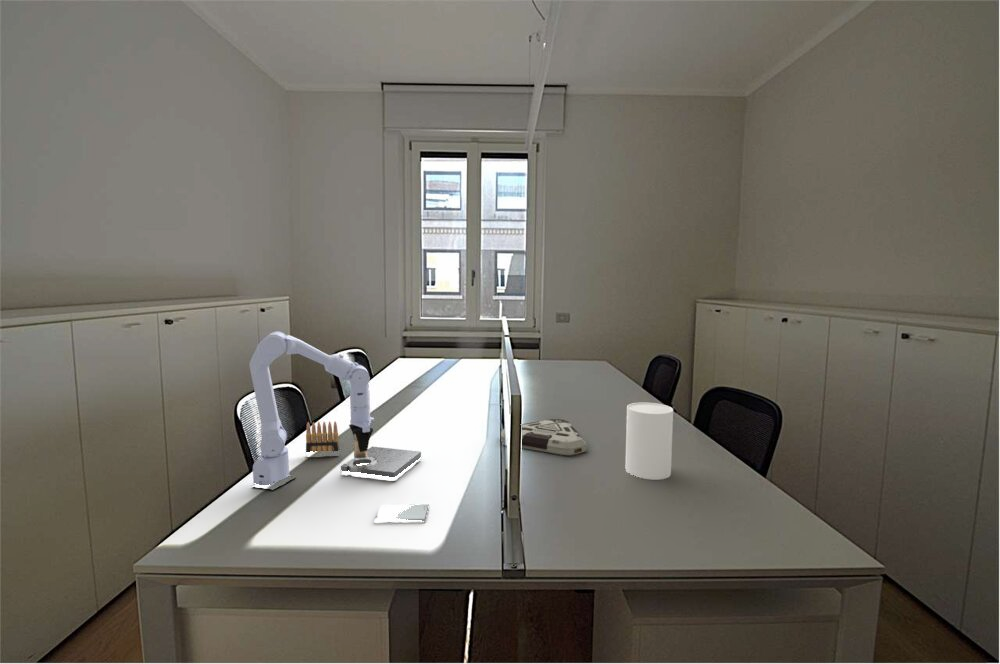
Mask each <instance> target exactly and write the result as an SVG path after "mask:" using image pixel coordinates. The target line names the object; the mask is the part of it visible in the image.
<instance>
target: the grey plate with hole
mask: <svg viewBox="0 0 1000 664" xmlns="http://www.w3.org/2000/svg"><path fill="white" fill-rule="evenodd" d="M420 457H421V458H422V452H421V451H418V450H407V449H399V448H390V447H381V446H371V447H368V455H367V457H365V458H355V457H353V458H351V459H350V460H348V461H347V462H346V463H343V464H342V465H340V471H341V470H342V471H348V470H349V471H350V472H361V473H367V474H375V475H382V476H389V477H395V476H397V475H398V474H399V473H401V472H402V471H403V470H404V469H406V468H407V467H408V466H410V465H411V464H412V463H414V462H415V461H416V460H418V459H419V458H420ZM360 463H369V464H367V465H362V466H357V465H356V464H360Z"/></svg>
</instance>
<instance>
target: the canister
mask: <svg viewBox="0 0 1000 664" xmlns="http://www.w3.org/2000/svg"><path fill="white" fill-rule="evenodd" d="M673 424H674V408H673V407H671V406H669V405H666V404H663V403H657V402H647V401H645V402H644V401H642V402H640V401H639V402H632V403H629V404H627V405H626V431H625V432H626V433H625V434H626V435H625V467H624V468H625V469H626V470H625V469H624V470H625V471H626V473H627V474H629V473H630V474H629V475H631V476H633V475H634V476H633V477H635V476H636V477H635V478H638V477H639V478H638V479H642V478H643V479H644V480H650V481H651V480H653V481H654V480H658V481H659V480H665V479H667V478H669V477H671V475H672V452H673V450H672V448H673V426H674V425H673Z"/></svg>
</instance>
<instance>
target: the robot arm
mask: <svg viewBox="0 0 1000 664" xmlns="http://www.w3.org/2000/svg"><path fill="white" fill-rule="evenodd" d="M285 352H286V356H287V355H289V356H290V355H295V354H296V355H300V356H302V357H304V358H308V359H310V360H312V361H314V362H316V363H318V364H321V365H323V366H324V370H325V372H327V373H329V374H331V375H334V376H336V377H337V378H339V379H342V380H344V381H348V382H349V384H350V390H349V391H350V392H349V401H350V403H349V404H350V408H349V409H350V422H349V424H348V427H349V428H350V430H351V432H352V435H353V437H354V434H355V435H356V438H357V441H358V446H359V450H360V452H363V451H367V449H369V443H370V439H371V436H372V434H373V433H374V428H372V427H371V423H372V422H374V421H375V417H374V416H373V417H372V416H371V400H370V399H371V398H370V385H369V383H370V380H371V377H370V374H369V371H368V370H367V368H366V367H365V366H363V365H362V364H359V363H358V362H356V361H355V362H353V361H351V360H348V359H347V358H345V356H344V354H341V353H339V354H336V353H334V354H327V353H325V352H323V351H321V350H320V349H317V348H316V347H314V346H313V345H310V344H309V343H306V342H305V341H303V340H301V339H299V338H297V337H294V336H292V335H290V334H286V333H284V332H282V331H278V330H277V331H273V332H271V333H269V334H267V335H266V336H265V337H264V338H263V339H262V340H261V341H260V342H259V343H258V344H257V347H256V349H255V351H254V353H253V355H252V357H251V359H250V361H249V365H248V366H249V370H250V371H249V372H250V374H251V380H252V385H253V389H254V394H255V400H256V404H257V409H258V410H257V411H258V415H259V419H260V425H261V426H260V428H261V429H260V434H261V441H260V443H259V449H260V451H261V452H260V456H259V457H258V459H257V460H255V462H253V464H252V478H253V481H252V482H253V484H254V483H256V484H259V485H269V484H270V485H272V484H273V483H276V482H277V481H279V480H282V479H284V478H286V477H288V476H290V465H289V464H290V463H289V448H288V447H287V446H286V445H285V444H286V441H287V440H288V439H287V438H288V432H287V431H286V430H285V428H284V427H283V425H282V421H281V419H280V416H279V412H278V406H277V403H276V402H277V401H276V397H275V392H274V386H273V380H272V376H271V372H270V366H271V364H272V363H273V361H274V360H275V359H277V358H279V357H280V356H282V355H284V353H285Z"/></svg>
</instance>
